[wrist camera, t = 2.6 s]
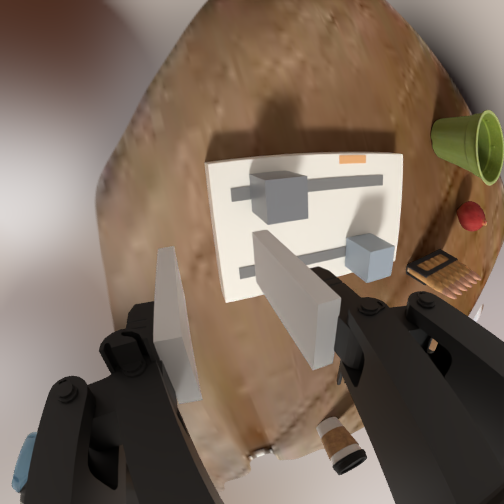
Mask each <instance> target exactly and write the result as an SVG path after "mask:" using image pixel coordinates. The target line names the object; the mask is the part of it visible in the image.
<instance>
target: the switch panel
mask: <svg viewBox="0 0 504 504" xmlns="http://www.w3.org/2000/svg"><path fill="white" fill-rule="evenodd" d="M204 163H205V172H206V181H207V189H208V197H209V206H210V213H211V221H212V229H213V236H214V243H215V251H216V258H217V265H218V271H219V278H220V285H221V291H222V293H223V296H224V299H225V301H226V303H227V302H232V301H237V300H241V299H246V298H250V297H255V296H259V295H264V293H263V292H262V290H261V289H260V287H259V286H258V284H257V282H256V273H255V261H254V249H253V237H252V232H255V231H261V230H268V231H269V232H270V233H272V234H273V235H274V236H275V237H276V238H277V239H278V240H279V241H280V242H282V243H283V244H284V245H285V246H286V247H287V248H288V249H289V250H290V251H291V252H292V253H294V254H295V255H296V256H297V257H298V258H299V259H300V260H301V261H302V262H303V263H304V264H305V265H307V266H308V267H309V268H313V267H317V266H319V267H322V268H324V269H327V270H329V271H330V272H332V273H333V274H334V275H335V276H336V277H337V276H341V275H345V274H349V273H352V271H351V270H349V269H348V268H347V267H345V256H346V239H347V238H348V237H353V236H358V235H363V234H368V233H371V234H373V235H375V236H377V237H379V238H381V239H383V240H385V241H386V242H388V243H390V244H392V245H394V246H395V250H394V258H393V261H395V257H396V250H397V242H398V233H399V224H400V212H401V198H402V176H403V154H397V153H390V152H318V153H296V154H280V155H267V156H256V157H246V158H236V159H227V160H219V161H212V162H204ZM284 170H286V171H290V172H294V173H298V174H301V175H305V176H307V182H308V219H303V220H296V221H290V222H283V223H277V224H271V225H267V224H266V223H265V222H264V221H263V220H261V219H260V218H259V217H258V216H257V215H255V214H254V213H253V212H252V203H251V191H250V179H249V174H254V173H263V172H273V171H284Z"/></svg>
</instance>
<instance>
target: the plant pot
mask: <svg viewBox="0 0 504 504" xmlns="http://www.w3.org/2000/svg"><path fill="white" fill-rule="evenodd" d="M431 139H432V143H433V145H432V147H433V150H434V152H435V153H436V155H437V156H438V157H440V158H442V159H444V160H446V161H448V162H451V163H453V164H455V165H458V166H460V167H462V168H464V169H466V170H468V171H470V172H472V173H473V174H474V175H476V176H478V177H480V178H481V179H482V180H483V181H484V183H485V184H487V185H492V184H494V183H495V182H496V181H497V179H498V177H499V175H500V172H501V169H502V165H503V159H504V139H503V133H502V129H501V126H500V123H499V120H498V118H497V116H496V115H495V114H494V113H493V112H492V111H490V110H486V111H484V112H483V113H481V114H474V115H472V116H461V117H452V118H443V119H439V120H437V121H436V122H435V123H434V125H433V127H432V131H431Z"/></svg>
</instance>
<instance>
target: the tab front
mask: <svg viewBox="0 0 504 504" xmlns="http://www.w3.org/2000/svg"><path fill="white" fill-rule="evenodd" d="M249 179H250V191H251V203H252V212H253V213H254V214H255V215H257V216H258V217H259V218H260V219H261V220H263V221H264V222H265V223H266V224H267V225H271V224H277V223H283V222H290V221H296V220H303V219H308V182H307V176H305V175H301V174H298V173H294V172H290V171H286V170H284V171H273V172H263V173H254V174H249Z"/></svg>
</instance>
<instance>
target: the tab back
mask: <svg viewBox="0 0 504 504" xmlns="http://www.w3.org/2000/svg"><path fill="white" fill-rule="evenodd" d="M394 250H395V246H394V245H392V244H390V243H388V242H386V241H385V240H383V239H381V238H379V237H377V236H375V235H373V234H371V233H368V234H363V235H358V236H353V237H348V238H347V239H346V256H345V267H347V268H348V269H349V270H351V271H352V272H353V273H355V274H356V275H357V276H358V277H360V278H361V279H362V280H364V281H365V282H366V283H369V282H372V281H375V280H378V279H381V278H385V277H388V276H391V271H392V264H393V258H394Z"/></svg>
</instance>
